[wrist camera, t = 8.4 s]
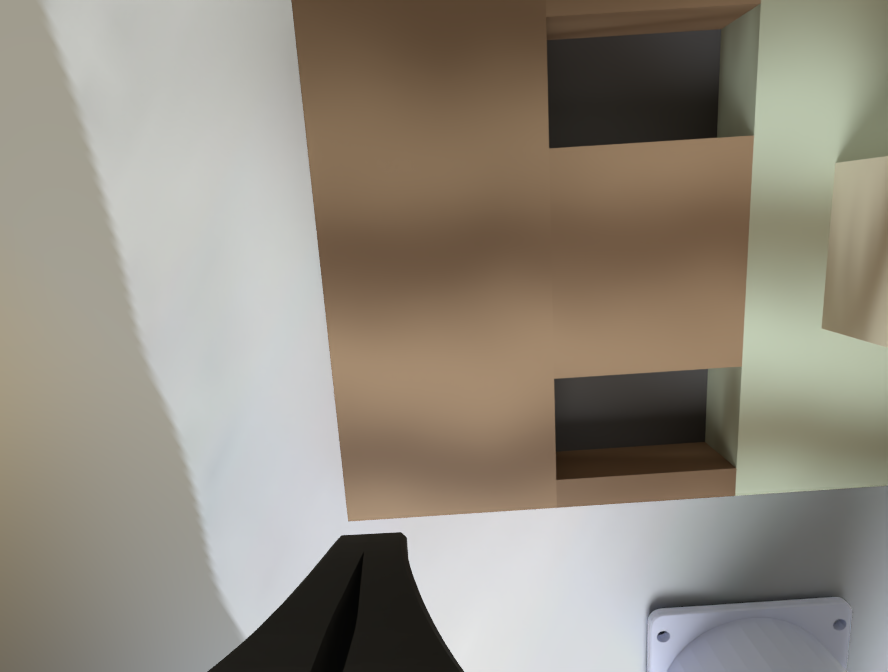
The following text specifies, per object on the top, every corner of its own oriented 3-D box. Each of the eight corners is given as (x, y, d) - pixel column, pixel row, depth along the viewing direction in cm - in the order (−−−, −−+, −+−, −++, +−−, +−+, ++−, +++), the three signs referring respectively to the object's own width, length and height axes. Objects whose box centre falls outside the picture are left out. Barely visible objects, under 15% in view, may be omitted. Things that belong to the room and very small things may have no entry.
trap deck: (883, 451, 21) (942, 481, 19) (358, 485, 21) (348, 521, 19) (936, -16, 18) (1016, -53, 15) (310, 23, 18) (290, -7, 15)
